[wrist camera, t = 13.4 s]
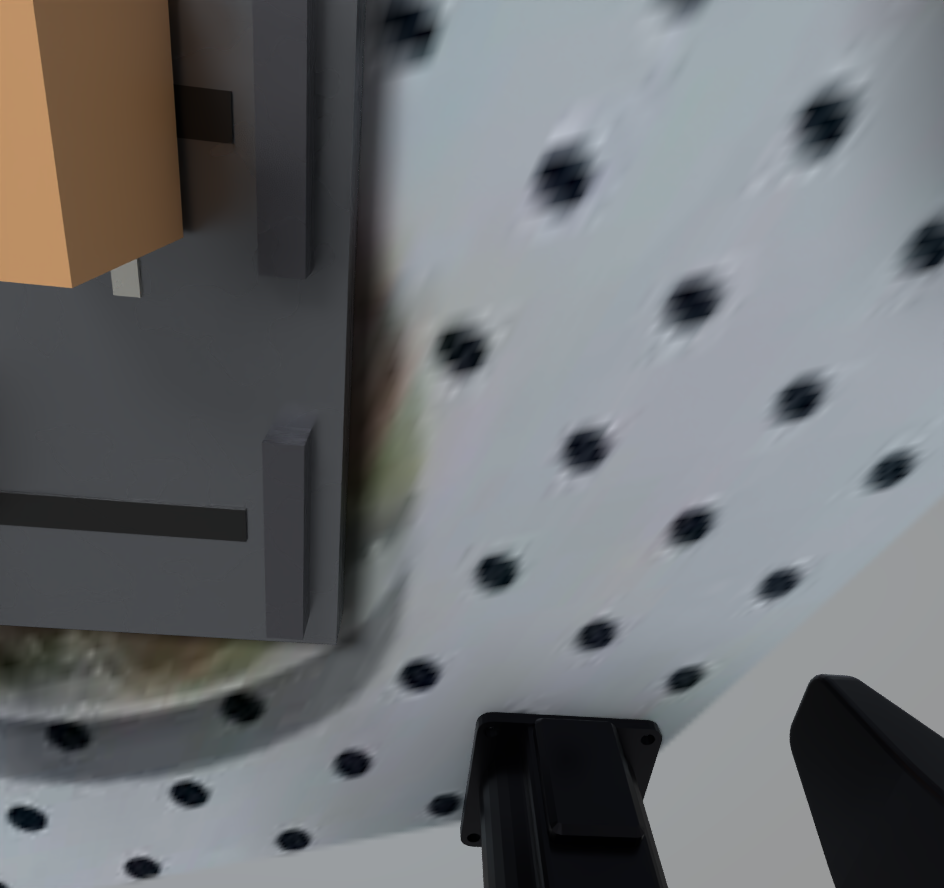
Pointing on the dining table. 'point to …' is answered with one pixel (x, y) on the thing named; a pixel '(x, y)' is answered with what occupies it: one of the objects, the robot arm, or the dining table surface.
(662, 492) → the dining table surface
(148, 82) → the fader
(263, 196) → the grey slider panel
